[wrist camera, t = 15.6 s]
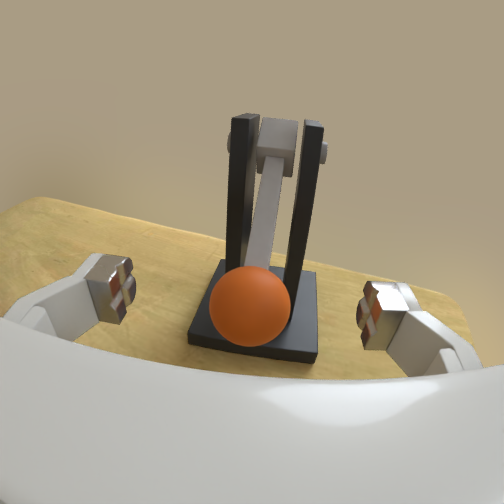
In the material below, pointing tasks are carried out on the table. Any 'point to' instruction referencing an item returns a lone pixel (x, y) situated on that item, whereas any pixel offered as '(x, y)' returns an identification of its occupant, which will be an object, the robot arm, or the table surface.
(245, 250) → the switch base
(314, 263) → the table surface
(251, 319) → the lever
